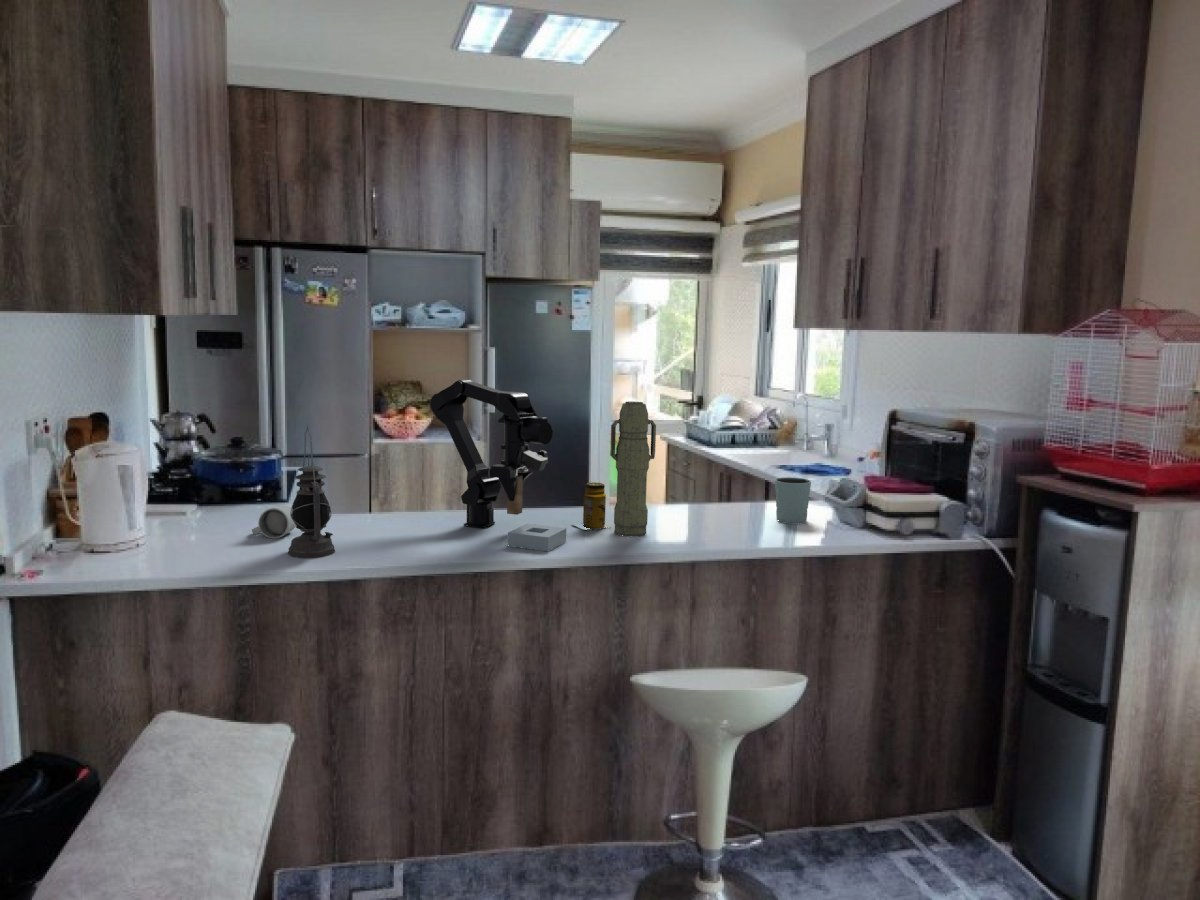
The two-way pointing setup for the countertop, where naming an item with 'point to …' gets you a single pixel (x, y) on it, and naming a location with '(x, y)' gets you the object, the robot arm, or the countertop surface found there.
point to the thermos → (632, 468)
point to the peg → (516, 499)
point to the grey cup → (792, 499)
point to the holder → (537, 537)
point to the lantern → (311, 513)
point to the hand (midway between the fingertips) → (514, 499)
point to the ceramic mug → (275, 522)
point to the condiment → (594, 506)
